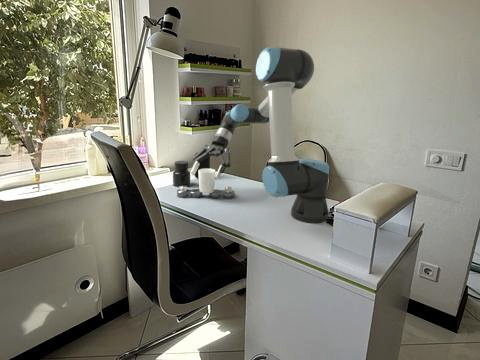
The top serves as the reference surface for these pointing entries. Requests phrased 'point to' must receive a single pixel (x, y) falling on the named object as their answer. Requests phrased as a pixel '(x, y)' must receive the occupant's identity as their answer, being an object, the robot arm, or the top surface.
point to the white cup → (206, 180)
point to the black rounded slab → (203, 165)
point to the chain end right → (223, 193)
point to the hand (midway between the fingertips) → (204, 176)
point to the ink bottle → (181, 174)
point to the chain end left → (188, 192)
